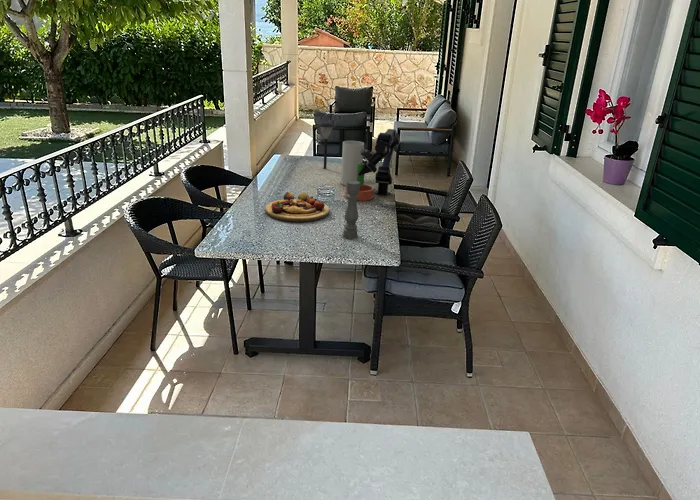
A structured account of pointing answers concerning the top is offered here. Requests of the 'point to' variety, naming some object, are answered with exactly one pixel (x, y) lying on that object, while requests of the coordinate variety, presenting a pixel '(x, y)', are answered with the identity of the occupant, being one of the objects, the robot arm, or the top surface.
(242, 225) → the top surface
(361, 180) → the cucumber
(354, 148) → the cylinder vase
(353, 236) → the candle holder
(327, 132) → the solar garden light
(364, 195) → the pot
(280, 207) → the wooden plate
